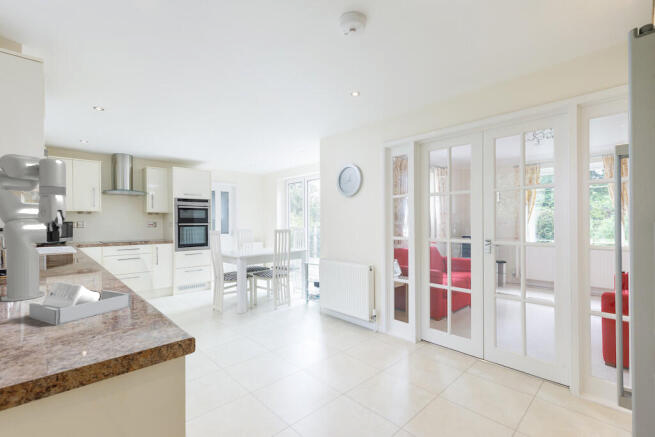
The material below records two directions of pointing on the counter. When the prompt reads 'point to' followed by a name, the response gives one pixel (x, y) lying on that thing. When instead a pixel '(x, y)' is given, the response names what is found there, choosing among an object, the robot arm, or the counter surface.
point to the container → (69, 295)
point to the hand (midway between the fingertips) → (53, 241)
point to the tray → (80, 308)
